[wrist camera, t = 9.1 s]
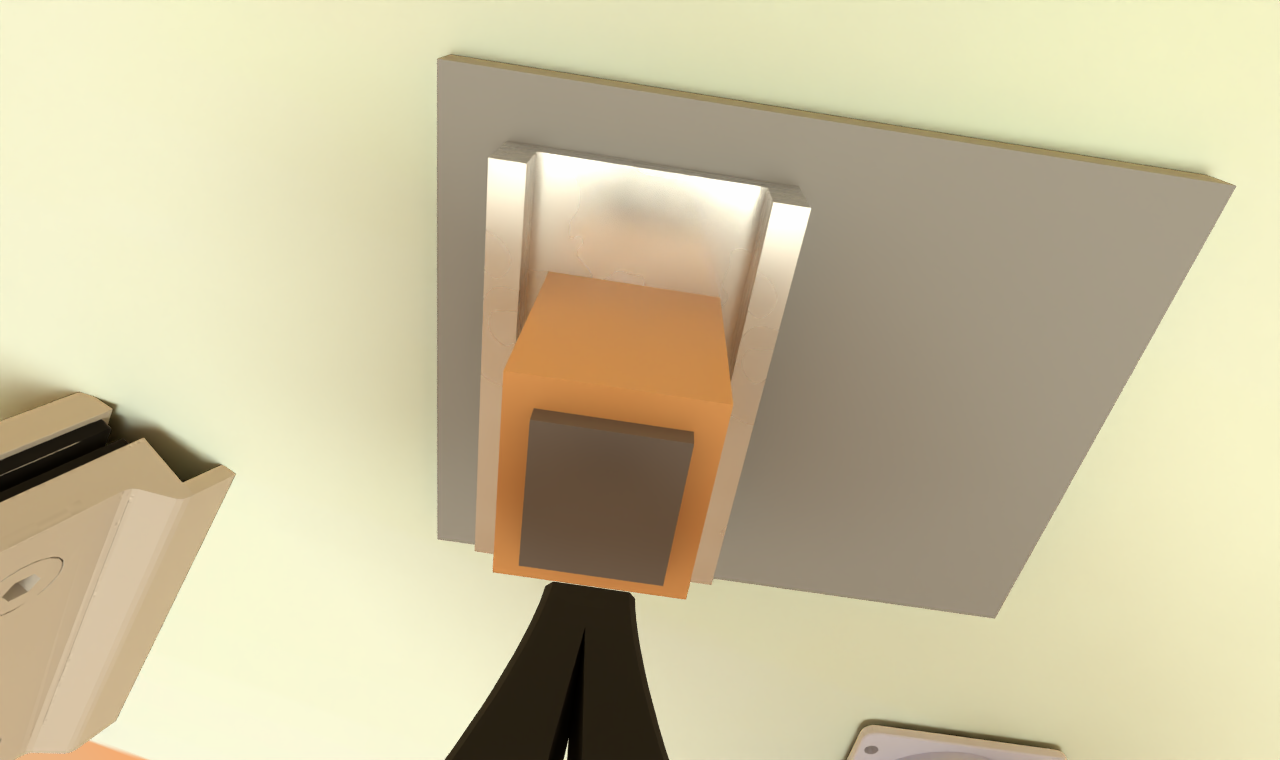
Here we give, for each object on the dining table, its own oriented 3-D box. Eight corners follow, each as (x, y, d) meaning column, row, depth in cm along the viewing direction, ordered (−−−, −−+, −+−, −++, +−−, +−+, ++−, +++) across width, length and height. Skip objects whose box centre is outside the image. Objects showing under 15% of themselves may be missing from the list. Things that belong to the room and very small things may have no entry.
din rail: (709, 541, 22) (711, 585, 20) (489, 509, 22) (474, 551, 20) (798, 186, 16) (811, 208, 15) (506, 140, 16) (488, 157, 15)
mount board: (983, 594, 24) (994, 618, 23) (446, 518, 23) (437, 539, 22) (1207, 174, 17) (1236, 186, 16) (450, 54, 16) (437, 58, 15)
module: (685, 462, 20) (685, 613, 15) (534, 440, 20) (488, 586, 15) (720, 297, 17) (735, 416, 12) (548, 271, 17) (498, 381, 12)
